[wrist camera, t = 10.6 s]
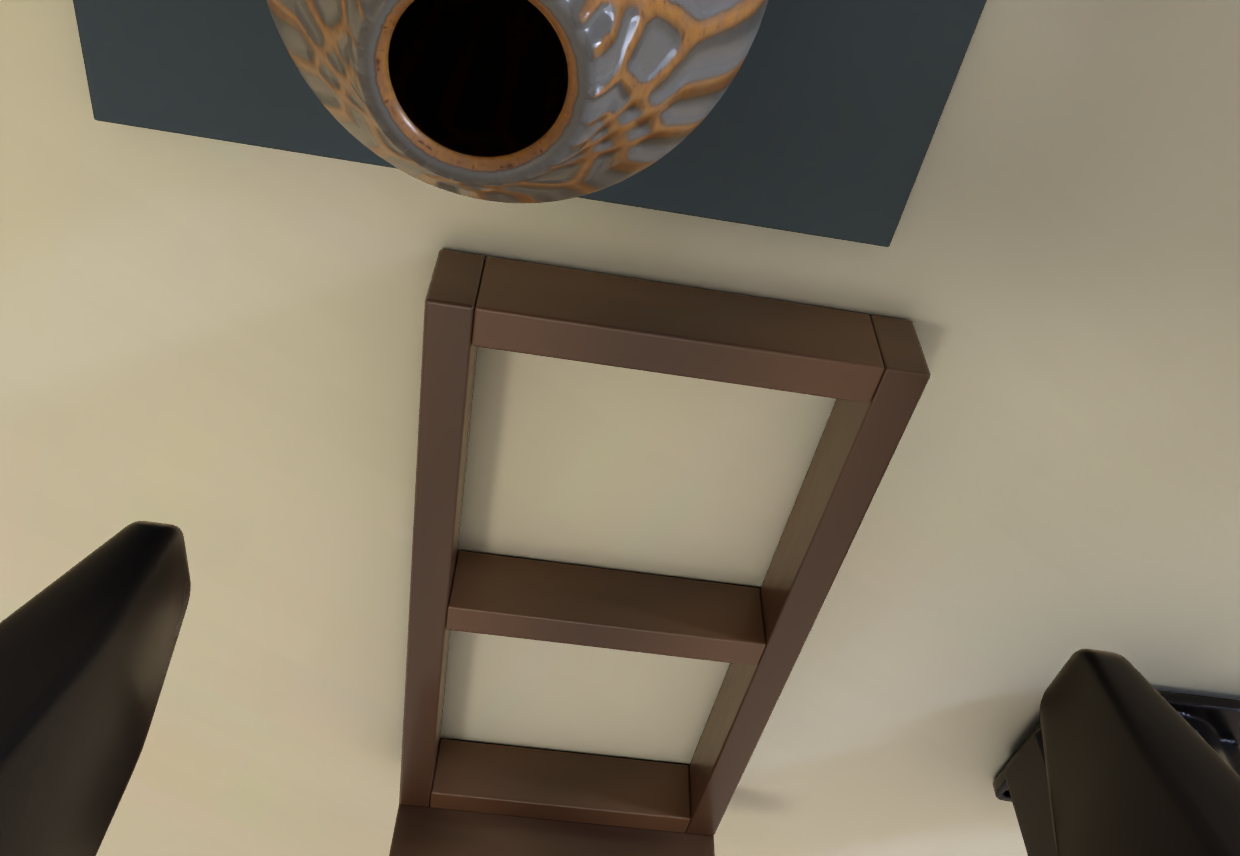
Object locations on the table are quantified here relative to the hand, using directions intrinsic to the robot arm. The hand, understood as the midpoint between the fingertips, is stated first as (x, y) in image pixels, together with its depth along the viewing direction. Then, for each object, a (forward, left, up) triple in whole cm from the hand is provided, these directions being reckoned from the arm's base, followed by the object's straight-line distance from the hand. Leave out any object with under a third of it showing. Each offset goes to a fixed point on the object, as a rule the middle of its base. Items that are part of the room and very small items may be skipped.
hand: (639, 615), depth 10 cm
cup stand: (-2, +14, -13) cm, 19 cm away
